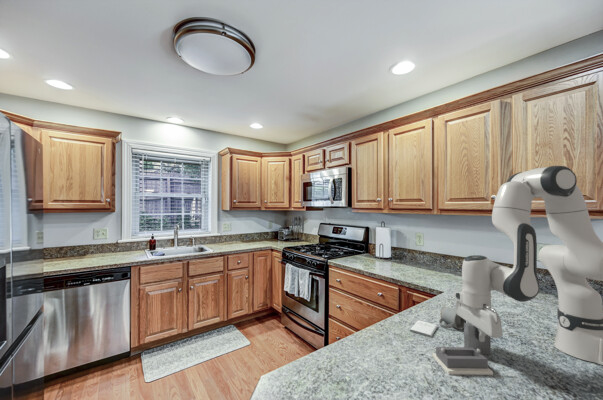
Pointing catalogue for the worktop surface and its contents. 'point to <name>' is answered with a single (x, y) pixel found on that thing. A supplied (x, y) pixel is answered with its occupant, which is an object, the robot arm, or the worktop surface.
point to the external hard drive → (424, 328)
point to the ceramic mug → (451, 318)
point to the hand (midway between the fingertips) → (477, 338)
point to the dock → (462, 360)
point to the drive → (472, 340)
